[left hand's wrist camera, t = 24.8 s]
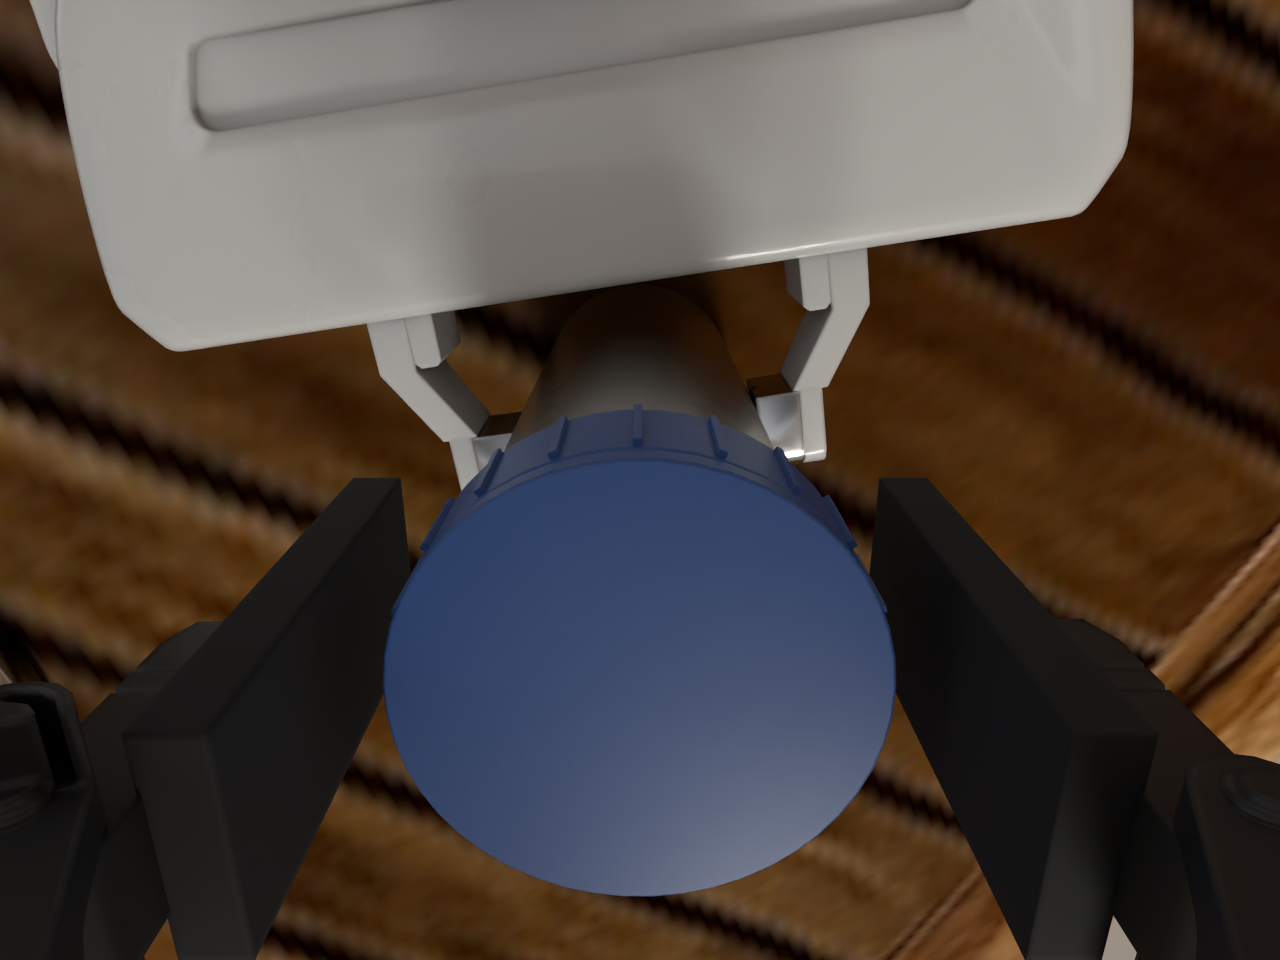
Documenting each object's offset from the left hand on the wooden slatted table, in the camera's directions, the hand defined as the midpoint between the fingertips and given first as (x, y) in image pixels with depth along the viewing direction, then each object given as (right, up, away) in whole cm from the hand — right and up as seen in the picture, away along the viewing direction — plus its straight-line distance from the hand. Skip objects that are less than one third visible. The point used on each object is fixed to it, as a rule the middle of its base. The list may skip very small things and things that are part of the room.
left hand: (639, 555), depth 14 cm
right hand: (0, +1, +6) cm, 6 cm away
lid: (0, -1, -4) cm, 4 cm away
